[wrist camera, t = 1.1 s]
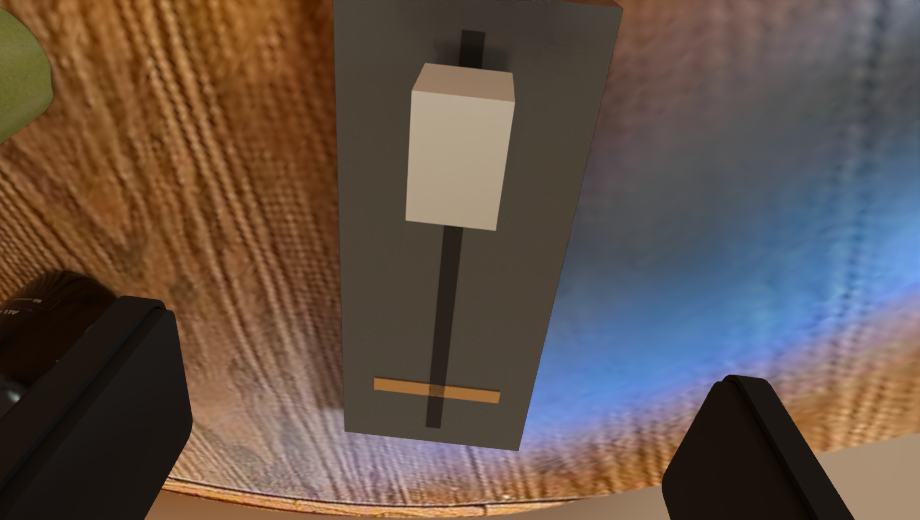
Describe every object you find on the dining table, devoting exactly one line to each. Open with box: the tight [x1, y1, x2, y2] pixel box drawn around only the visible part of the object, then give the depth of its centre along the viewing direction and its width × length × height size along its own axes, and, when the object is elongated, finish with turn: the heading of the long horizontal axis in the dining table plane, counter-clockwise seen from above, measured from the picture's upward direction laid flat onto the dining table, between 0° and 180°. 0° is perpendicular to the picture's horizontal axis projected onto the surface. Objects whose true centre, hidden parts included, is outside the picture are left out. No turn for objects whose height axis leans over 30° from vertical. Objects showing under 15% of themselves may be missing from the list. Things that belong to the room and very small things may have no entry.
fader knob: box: [406, 63, 515, 231], centre depth 22 cm, size 5×4×6 cm
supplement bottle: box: [0, 272, 118, 419], centre depth 31 cm, size 7×7×12 cm
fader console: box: [333, 0, 623, 451], centre depth 31 cm, size 28×12×3 cm, turn 174°
